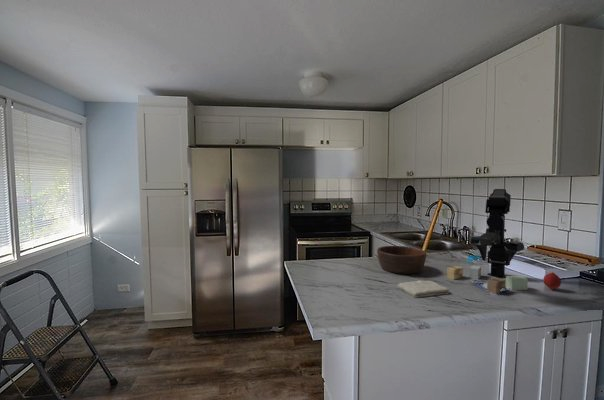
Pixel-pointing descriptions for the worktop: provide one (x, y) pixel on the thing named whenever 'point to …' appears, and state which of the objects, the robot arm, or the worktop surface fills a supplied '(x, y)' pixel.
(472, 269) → the grey brick
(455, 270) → the oak brick
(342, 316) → the worktop surface
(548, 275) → the red rounded lump
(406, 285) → the washcloth
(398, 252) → the wooden bowl
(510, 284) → the sage brick
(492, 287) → the walnut brick
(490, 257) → the robot arm
